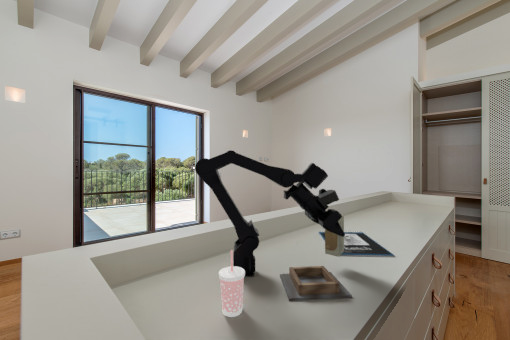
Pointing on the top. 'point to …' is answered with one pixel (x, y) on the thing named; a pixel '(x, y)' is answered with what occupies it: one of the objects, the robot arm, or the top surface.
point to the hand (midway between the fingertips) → (338, 232)
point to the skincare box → (334, 241)
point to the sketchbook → (361, 245)
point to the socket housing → (312, 284)
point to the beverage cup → (232, 289)
